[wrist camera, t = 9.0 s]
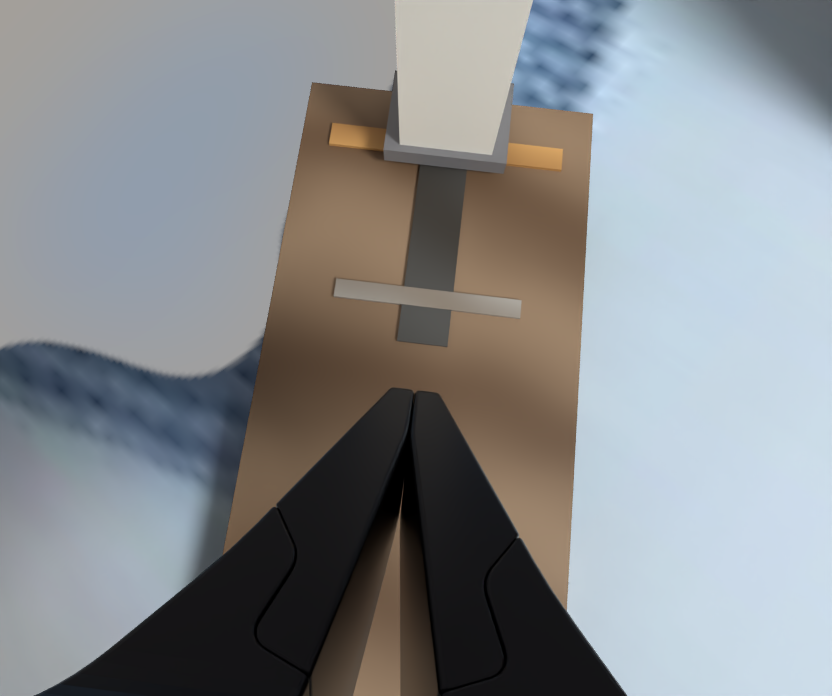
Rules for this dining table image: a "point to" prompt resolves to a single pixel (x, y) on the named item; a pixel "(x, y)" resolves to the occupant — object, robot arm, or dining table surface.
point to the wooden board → (427, 321)
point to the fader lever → (454, 82)
